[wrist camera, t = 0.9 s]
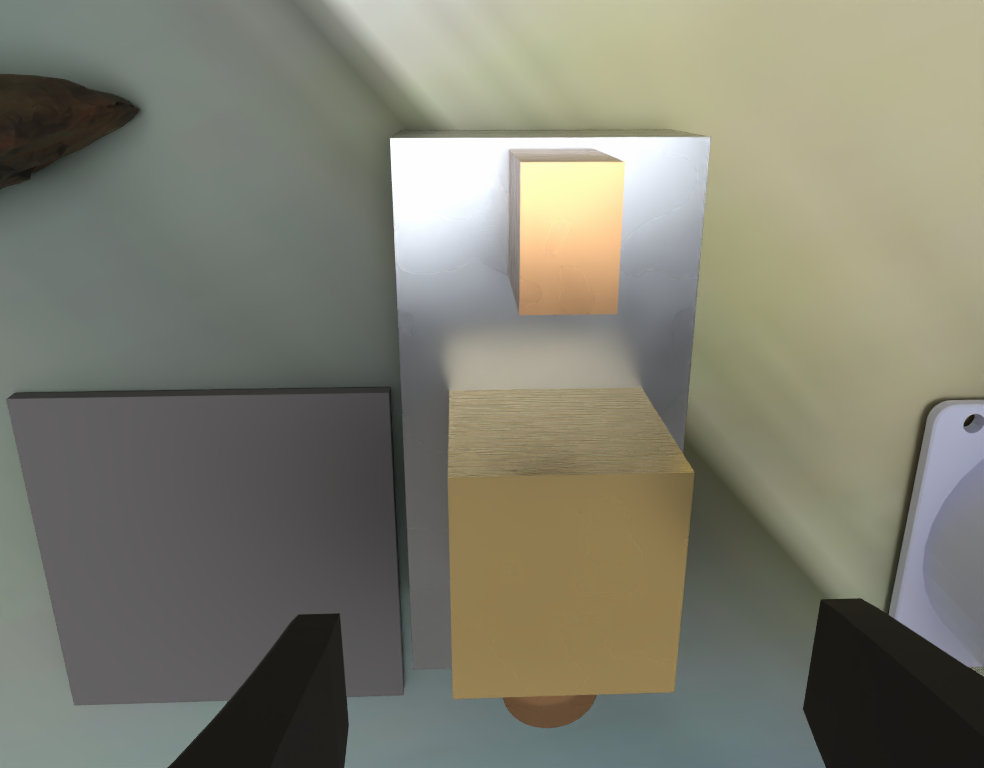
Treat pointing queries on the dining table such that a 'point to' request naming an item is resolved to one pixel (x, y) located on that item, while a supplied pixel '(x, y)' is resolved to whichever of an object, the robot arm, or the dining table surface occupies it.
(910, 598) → the robot arm
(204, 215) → the dining table surface
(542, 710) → the body
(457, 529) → the tan cube
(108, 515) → the mat
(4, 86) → the hand tool
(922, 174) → the dining table surface
